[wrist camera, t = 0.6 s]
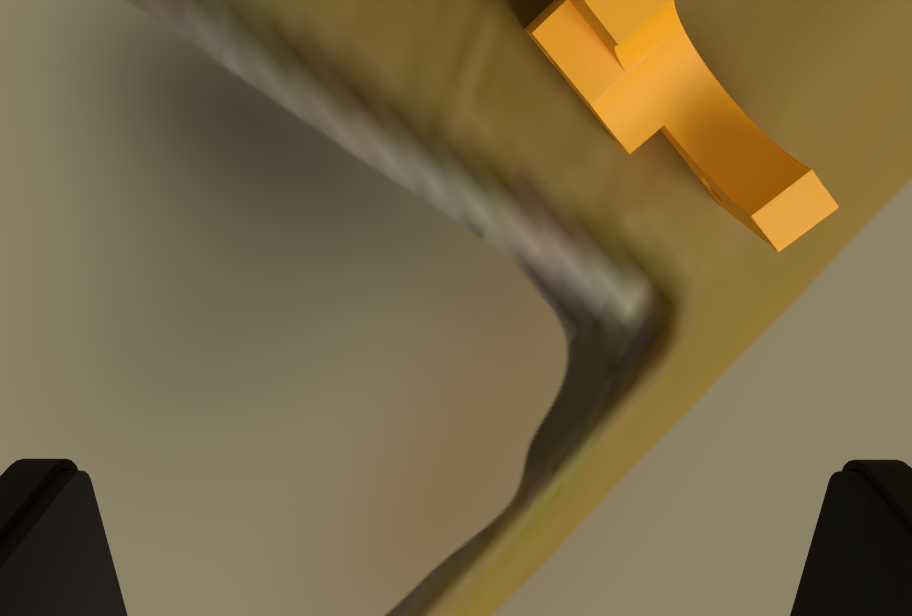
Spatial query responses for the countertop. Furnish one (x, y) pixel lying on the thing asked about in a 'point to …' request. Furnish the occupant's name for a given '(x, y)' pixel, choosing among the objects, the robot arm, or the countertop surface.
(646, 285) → the countertop surface
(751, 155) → the pipe clamp
